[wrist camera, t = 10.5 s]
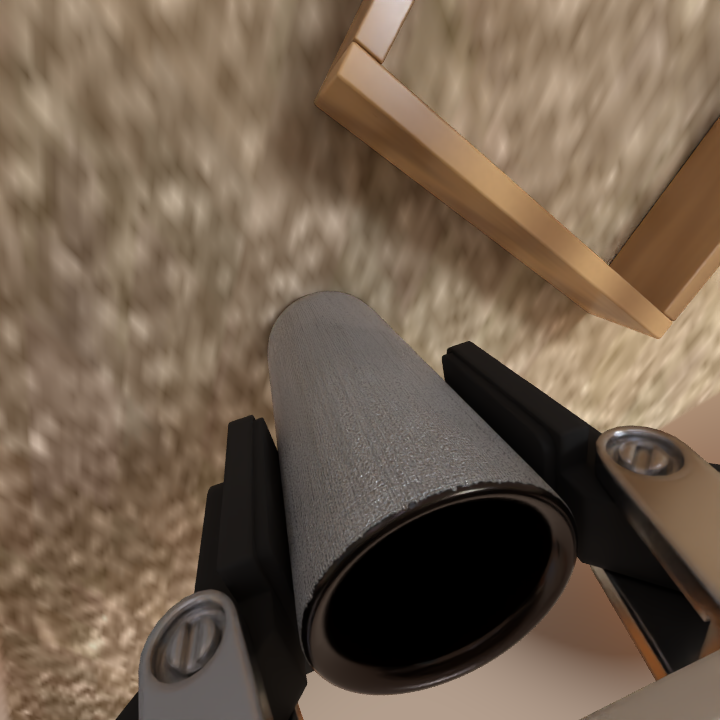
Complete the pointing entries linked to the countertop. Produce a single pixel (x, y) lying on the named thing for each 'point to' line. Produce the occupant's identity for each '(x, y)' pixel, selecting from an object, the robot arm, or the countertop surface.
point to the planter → (402, 509)
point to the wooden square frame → (513, 205)
